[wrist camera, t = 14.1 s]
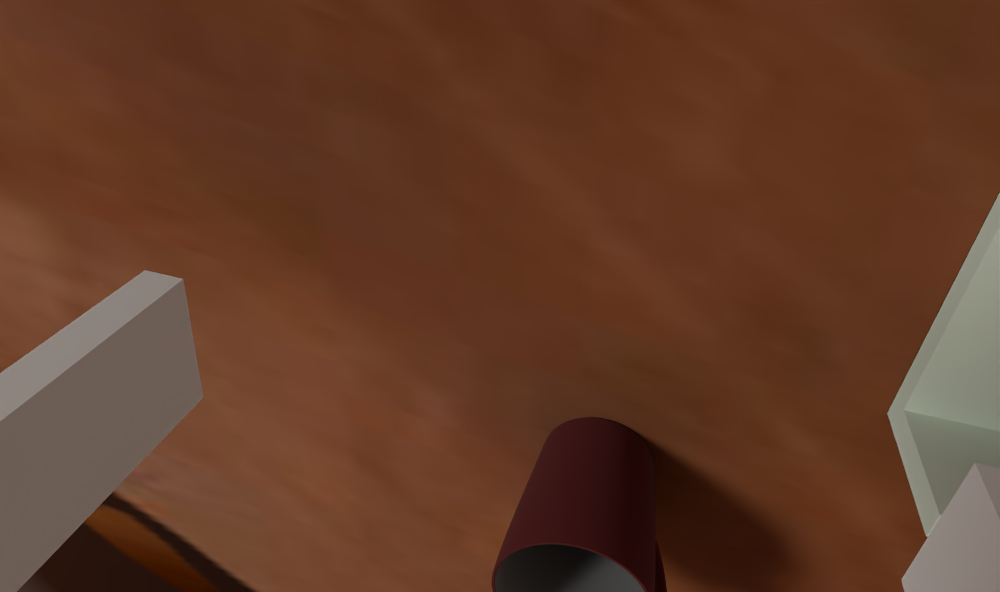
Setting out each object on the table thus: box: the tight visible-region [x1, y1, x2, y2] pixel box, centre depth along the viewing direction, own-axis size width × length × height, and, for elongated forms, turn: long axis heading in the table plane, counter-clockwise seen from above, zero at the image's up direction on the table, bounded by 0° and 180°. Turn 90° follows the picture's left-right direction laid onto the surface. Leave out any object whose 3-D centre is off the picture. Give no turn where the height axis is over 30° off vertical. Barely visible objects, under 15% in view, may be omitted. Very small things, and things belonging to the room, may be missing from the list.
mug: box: [492, 418, 667, 592], centre depth 44 cm, size 12×9×11 cm
